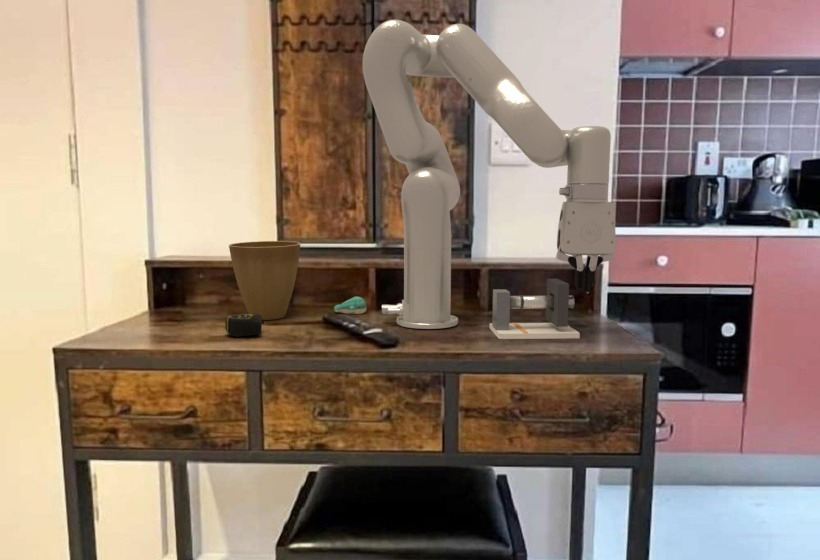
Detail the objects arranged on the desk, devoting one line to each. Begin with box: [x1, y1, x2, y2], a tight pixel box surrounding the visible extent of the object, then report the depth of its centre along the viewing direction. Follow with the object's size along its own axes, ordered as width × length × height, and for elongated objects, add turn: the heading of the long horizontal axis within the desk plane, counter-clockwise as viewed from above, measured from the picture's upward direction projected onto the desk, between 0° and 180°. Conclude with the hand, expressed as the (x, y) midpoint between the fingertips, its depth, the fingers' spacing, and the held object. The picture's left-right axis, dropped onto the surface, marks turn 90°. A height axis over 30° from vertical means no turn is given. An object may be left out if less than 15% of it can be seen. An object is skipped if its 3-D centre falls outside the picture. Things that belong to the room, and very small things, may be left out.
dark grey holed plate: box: [545, 278, 570, 327], centre depth 125 cm, size 2×8×8 cm, turn 3°
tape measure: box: [224, 313, 265, 337], centre depth 123 cm, size 7×7×4 cm
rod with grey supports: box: [491, 288, 575, 330], centre depth 125 cm, size 15×4×7 cm, turn 93°
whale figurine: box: [333, 296, 367, 315], centre depth 147 cm, size 6×7×4 cm
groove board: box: [489, 322, 581, 340], centre depth 125 cm, size 15×10×1 cm, turn 93°
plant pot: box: [228, 240, 301, 321], centre depth 140 cm, size 15×15×16 cm
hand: (583, 291), depth 125 cm, fingers closed
